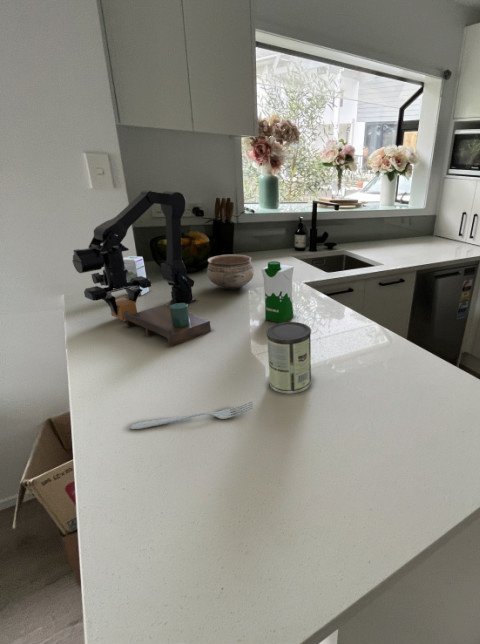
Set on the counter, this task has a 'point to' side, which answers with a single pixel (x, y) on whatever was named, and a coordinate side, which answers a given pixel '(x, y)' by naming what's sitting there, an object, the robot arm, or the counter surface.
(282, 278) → the milk carton
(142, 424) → the fork
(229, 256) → the cooking pot
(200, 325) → the shelf
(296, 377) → the coffee can
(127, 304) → the kraft box
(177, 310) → the tea tin
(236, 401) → the counter surface
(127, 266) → the syrup box
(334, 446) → the counter surface
